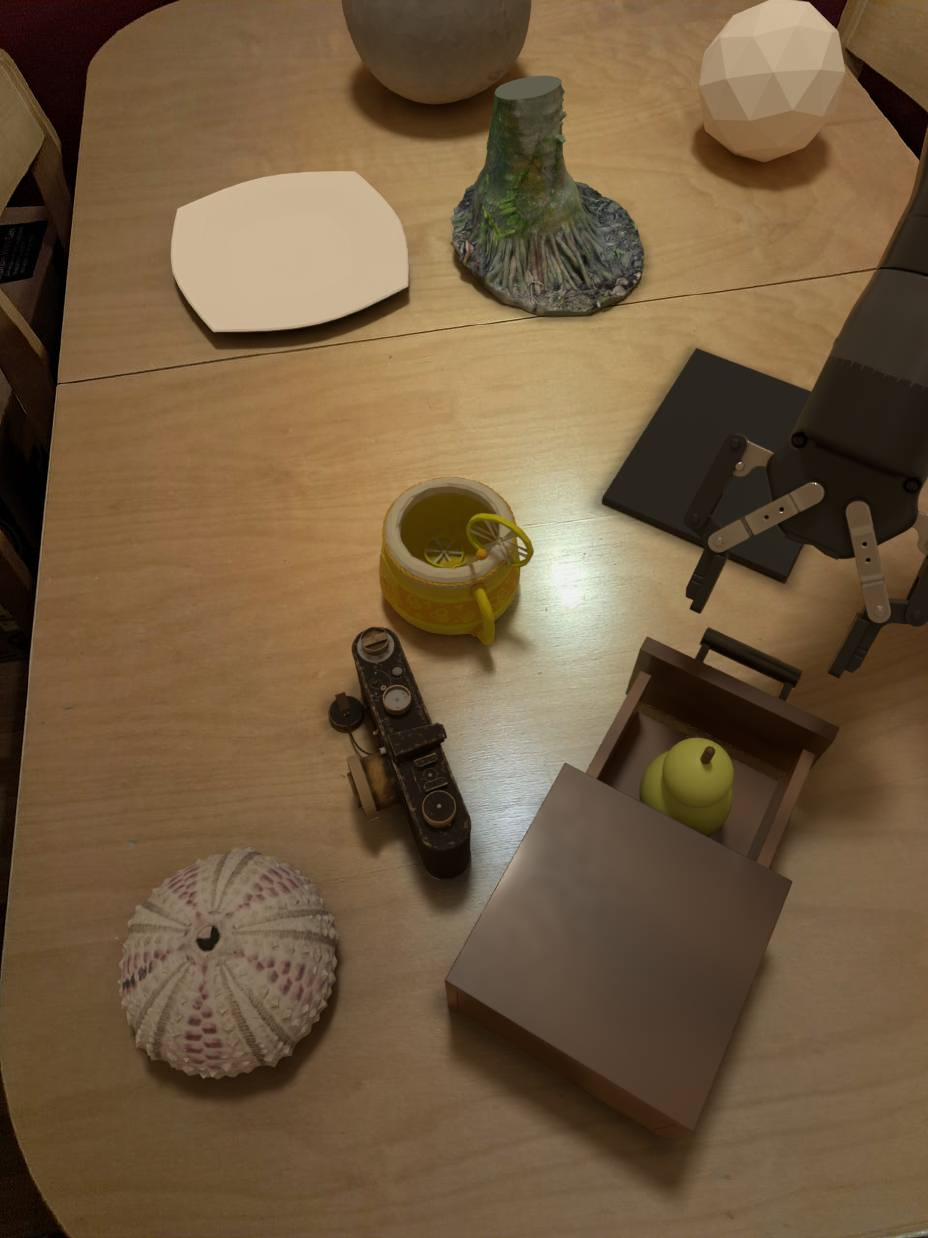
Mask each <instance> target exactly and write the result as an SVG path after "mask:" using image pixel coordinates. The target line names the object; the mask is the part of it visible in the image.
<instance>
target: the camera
mask: <svg viewBox="0 0 928 1238" xmlns="http://www.w3.org/2000/svg"><path fill="white" fill-rule="evenodd" d="M351 654H352V655H351V656H352V658H353V661H354V666H355V669H356V674H357V678H358V683H359V688H360V695H361V700H360V699H358V698H357V697H355V696H352V695H347V694H346V692H345V691H342V692H341V693H338V694H335V695H334V696H335V699H334V700H333V701H332V703H330V705H329V707H328V712H327V713H328V718H329V721H330V722H331V723H332V724H333V725H334V726H336V727H337V728H338V729H342V730H348V733H349V735H350V738H351V740H352V742H353V744H354V745H355V747H356V748H357V749H358V750H359V751H360V752H362V753H363V754H364V755H365V756H363V757H360V756H359V754H357V753H356V754H353V755H350V756H347V757H346V758H345V759H346V763H347V767H348V769H349V772H346V776H347V779H348V782H349V785H350V789H351V791H352V794H353V798H354V800H355V803H356V806H357V809H358V810H359V809H362V812H363V814H364V817H365V820H366V821H367V822H370V821H372V820H375V819H378V818H379V812H381V811H385V810H388V809H390V808H394V807H395V806H399V805H401V808H402V811H403V814H404V816H405V819H406V822H407V825H408V827H409V830H410V832H411V835H412V838H413V841H414V844H415V846H416V849H417V852H418V856H419V858H420V860H421V863H422V866H423V868H424V870H425V872H426V873H427V874H428V875H429V876H430V877H432V878H433V879H437V880H440V881H450V880H451V881H452V880H454V879H456V878H459V877H460V876H461V875H463V874H464V873H465V872H466V871H467V869H468V868H469V866H470V864H471V861H472V860H471V859H472V850H471V844H472V843H471V842H472V841H471V839H472V837H471V836H472V835H471V832H472V820H471V816H470V814H469V811H468V808H467V806H466V803H465V801H464V799H463V796H462V793H461V791H460V788H459V786H458V784H457V781H456V779H455V776H454V773H453V770H452V769H451V766H450V763H449V761H448V759H447V757H446V754H445V750H444V749H443V746H442V744H443V743H444V742H445V740H446V739H447V738H448V735H447V731H446V728H445V726H444V725H443V723H441V724H440V722H435V723H433V721H432V718H431V716H430V713H429V711H428V709H427V706H426V704H425V701H424V699H423V696H422V694H421V691H420V689H419V686H418V684H417V681H416V679H415V676H414V673H413V671H412V669H411V666H410V663H409V661H408V659H407V658H408V657H407V656H406V654H405V651H404V649H403V646H402V644H401V641H400V639H399V637H398V635H397V634H396V632H394V631H393V630H392V629H390V628H388V627H384V626H369V627H368V628H366V629H363V630H362V631H361V632H359V633H358V634H357V635H356V636H355V638H354V639H353V641H352V643H351ZM364 709H365V710H366V712H367V715H368V717H369V720H370V722H371V726H372V728H373V730H374V731H373V732H372V734H373V736H375V737H376V740H377V743H378V747H379V749H378V751H376V752H372V753H371V752H368V751H365V750H364V749H362V748H361V747H360V746H359V745H358V743H357V742H356V740H355V737H354V736H353V732H352V730H351V729H352V728H354V727H356V726H358V725H359V724H360V722H362V719H363V716H364V712H365V711H364Z"/></svg>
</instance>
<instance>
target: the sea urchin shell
mask: <svg viewBox="0 0 928 1238" xmlns="http://www.w3.org/2000/svg"><path fill="white" fill-rule="evenodd" d="M319 895H320V894H319V889H318V888H316V885H315V884H311V882H310V879H309V876H305V875H303V873H300V870H298V869H295V868H293V867H292V864H290V863H288V862H285V861H284V862H283V861H281V860H280V859H279V858H277V857H276V856H273V855H263V854H262V853H261V852H260V851H258V849H256V847H251V846H249V847H247V848H243V849H241V848H239V847H238V846H236V847H234V848H232V849H231V850H230V851H228V852H226V853H224V854H218V853H214V854H210V855H209V856H208V857H206V858H204V859H201V858H199V857H198V858H197V859H196V861H195V862H194V863H193V864H191V865H187V866H186V867H185V868H183V869H179V870H178V871H176V873H175V874H174V875H173V876H171V877H167V878H165V879H164V881H163V882H162V884H161V885H160V886H159V887H156V888H152V892H151V896H149V898H147V899H146V900H145V901H144V902H143V903H140V904H138V905H135V906H134V907H135V908H134V915H133V917H131V918H130V919H129V920H128V921H127V931H128V935H127V936H128V937H127V938H126V941H125V942H124V943H123V944H122V949H121V951H122V959H121V960H120V961H119V962H118V967H119V969H120V971H121V973H120V978H119V979H118V980H117V981H116V982H117V983H118V984H119V985H120V986H119V988H118V995H119V996H120V998H121V1002H120V1004H121V1006H120V1009H121V1010H123V1011H124V1012H125V1015H126V1016H125V1017H126V1021H127V1025H128V1026H129V1027H132V1028H133V1030H134V1033H135V1047H136V1048H138V1049H144V1050H145V1052H146V1053H147V1056H148V1057H149V1059H150V1061H164V1062H168V1063H169V1066H170V1067H171V1068H175V1070H176V1071H183V1072H184V1074H186V1075H187V1076H188V1077H189V1076H193V1075H200V1076H201V1078H202V1079H205V1078H215V1079H217V1080H218V1079H221V1078H222V1077H224V1076H228V1077H230V1078H236V1077H237V1076H238V1075H239V1074H242V1073H245V1074H250V1072H252V1071H253V1070H254V1069H255V1068H258V1067H260V1066H268V1067H273V1068H276V1067H277V1064H278V1063H279V1061H280V1060H281V1059H282V1058H283V1057H284V1058H285V1057H291V1056H292V1055H293V1051H294V1048H295V1047H296V1045H297V1044H298V1042H299V1041H301V1040H302V1038H304V1037H306V1036H307V1035H309V1034H310V1033H311V1031H312V1028H313V1024H315V1023H317V1022H319V1021H320V1014H321V1012H322V1011H323V1010H325V1008H327V1007H328V999H329V998H330V997H331V995H332V987H333V985H334V984H335V982H336V981H337V978H336V975H335V969H336V967H337V966H338V965H337V963H338V960H337V958H336V956H335V955H336V946H337V945H338V943H339V940H340V937H341V935H340V934H339V933H338V931H337V929H336V925H337V920H336V917H334V916H333V915H332V914H330V913H329V912H328V911H327V910H326V903H325V901H324V899H323V898H322V897H321V896H319Z"/></svg>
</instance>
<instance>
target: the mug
mask: <svg viewBox="0 0 928 1238" xmlns="http://www.w3.org/2000/svg"><path fill="white" fill-rule="evenodd" d="M381 531H382V532H381V538H382V544H381V550H380V554H379V569H378V572H379V573H378V574H379V576H378V577H379V585H380V590H381V594H382V595H383V597H384V600H386V602H387V603H388V604H389V605H390V606H391V607H392V609H393V610H394V611H395V612H396V613H397V614H398V615H399V616H400V617H401V618H403V619H404V620H405V621H406V622H408V623H409V624H411V626H414V627H416V628H418V629H420V630H422V631H425V632H428V633H430V634H431V633H432V634H438V635H446V636H458V635H470V636H472V637H475V638H476V637H477V638H478V639H479V641H480V642H481V643H482V644H483V645H485V646H487V645H492V644H493V643H494V641H495V635H496V628H495V621H497V620H498V619H499V618H501V616H502V615H503V614H504V613H505V612H506V610H507V609H508V608H509V607H510V606H511V604H512V602H513V600H514V598H515V597H516V595H517V592H518V588H519V585H520V578H521V568H522V567H525V566H527V565H528V564H529V563H530V562H531V560H532V557H533V556H534V551H535V550H534V547H533V544H532V543H533V542H532V541H531V539H530V538H529V537H528V535H527V534H526V532H525V531H524V530H523V529H522V528H521V527H519V525H517V522H516V518H515V516H514V512H513V511H512V508H511V506H510V505H509V503H508V502H507V500H505V498H504V497H503V496H501V495H500V493H498V492H497V491H495V490H494V489H493V488H491V487H490V486H488V485H486V484H484V483H483V482H480V481H477V480H473V479H468V478H465V477H457V476H440V477H436V478H432V479H428V480H425V481H424V480H423V481H422V482H419V483H417V484H413V485H412V486H410V487H408V488H406V490H404V491H403V492H402V493H400V495H398V497H397V498H396V499H394V501H393V502H392V503H391V504H390V506H389V507H388V509H387V511H386V513H385V515H384V519H383V522H382V529H381ZM518 538H519V540H521V541H522V543H523V545H524V547H523V546H520V545H519V543H518ZM520 550H521V551H523V552H524V553H523V552H521V551H520ZM520 557H522V558H524V559H521V558H520Z"/></svg>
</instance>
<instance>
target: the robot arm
mask: <svg viewBox="0 0 928 1238" xmlns="http://www.w3.org/2000/svg"><path fill="white" fill-rule="evenodd" d="M917 165H918V166H917V170H916V174H915V175H916V176H915V179H914V184H913V187H912V191H911V193H910V197H909V200H908V202H907V204H906V207H905V208H904V210H903V212H902V214H901V216H900V218H899V220H898V222H897V224H896V226H895V228H894V230H893V232H892V234H891V237H890V239H889V240H888V243H887V245H886V247H885V249H884V251H883V253H882V255H881V257H880V259H879V262H878V264H877V266H876V268H875V271H874V272H873V273H872V275H871V277H870V279H869V281H868V282H867V283H866V285H865V287H864V289H863V291H862V292H861V293H860V294H859V296H858V298H857V299H856V301H855V303H854V304H853V306H852V308H851V309H850V312H849V313H848V315H847V317H846V318H845V321H844V323H843V325H842V327H841V329H840V331H839V333H838V335H837V337H836V338H835V339H834V341H833V344H832V347H831V350H830V352H829V354H828V356H827V358H826V360H825V362H824V364H823V367H822V368H821V371H820V373H819V375H818V378H817V379H816V381H815V383H814V385H813V387H812V389H811V390H810V391H811V393H810V395H809V398H808V400H807V402H806V404H805V406H804V408H803V410H802V412H801V414H800V416H799V418H798V420H797V422H796V424H795V427H794V429H793V431H792V433H791V435H790V437H789V439H788V440H787V442H786V443H785V444H784V445H783V446H782V447H781V448H780V449H779V450H778V451H776V452H775V453H774V452H772V451H769V450H767V449H765V448H763V447H761V446H759V445H757V444H755V443H753V442H751V441H749V440H748V438H747V437H746V436H745V435H743V434H738V433H734V434H731V435H729V436H728V437H727V438H726V440H725V441H724V443H723V445H722V447H721V449H720V451H719V453H718V454H717V456H716V458H715V460H714V462H713V464H712V466H711V468H710V469H709V471H708V473H707V475H706V477H705V479H704V481H703V483H702V484H701V486H700V488H699V490H698V492H697V494H696V496H695V498H694V499H693V501H692V503H691V505H690V507H689V509H688V511H687V512H686V514H685V517H684V522H685V525H686V526H687V527H688V528H690V529H692V530H693V531H694V532H695V533H696V534H697V535H698V536H699V537H700V538H701V539H702V541H703V543H704V547H703V551H702V553H701V555H700V558H699V560H698V562H697V564H696V565H695V568H694V570H693V572H692V574H691V577H690V579H689V580H688V582H687V585H686V588H685V598H686V599H690V600H691V601H692V602H691V603H690V605H689V609H688V610H689V611H692V612H693V613H697V614H698V615H701V614H702V612H703V611H704V609H705V607H706V606H707V604H708V601H709V598H710V597H711V596H712V593H713V591H714V588H715V587H716V584H717V582H718V580H719V578H720V577H721V574H722V572H723V570H724V568H725V566H726V564H727V561H728V560H729V558H728V557H729V554H727V552H728V550H729V548H731V547H733V546H735V545H737V544H739V543H741V542H743V541H744V540H746V539H748V538H750V537H753V536H755V535H757V534H759V533H761V532H763V531H764V530H766V529H768V528H770V527H772V526H774V525H776V526H777V527H778V529H779V531H780V532H781V533H782V534H783V535H784V536H785V538H787V539H789V540H792V541H794V542H796V543H801V544H802V545H809V546H812V547H814V548H815V549H816V550H818V551H819V552H821V553H822V555H825V556H826V557H829V558H832V559H834V560H837V561H838V560H850V559H855V564H856V569H857V574H858V578H859V582H860V587H861V592H862V596H863V601H864V606H863V608H862V609H861V611H859V610H856V611H855V613H854V615H853V617H852V619H851V621H850V623H849V625H848V627H847V628H846V631H845V633H844V634H843V636H842V638H841V640H840V642H839V644H838V646H837V647H836V649H835V651H834V653H833V654H832V657H831V658H830V661H829V663H828V664H827V667H826V674H827V675H829V676H832V677H834V678H836V679H838V680H839V679H840V678H841V677H842V675H843V673H844V671H845V672H848V673H850V674H853V673H855V672H856V671H857V670H859V669H860V668H861V666H862V664H863V663H864V660H865V659H866V657H867V655H868V653H869V651H870V650H871V648H872V646H873V644H874V642H875V640H876V638H877V637H878V635H879V633H880V631H881V630H882V629H883V628H884V627H886V626H887V625H890V624H891V625H892V624H898V625H909V626H911V627H913V628H920V627H923V626H925V625H926V624H927V623H928V513H926V512H923V511H920V510H919V499H920V494H921V491H922V489H923V487H924V485H925V484H926V482H927V480H928V125H927V126H926V131H925V136H924V139H923V143H922V148H921V152H920V157H919V161H918V164H917ZM757 466H763V467H766V469H765V471H766V478H767V483H768V488H769V493H770V498H771V502H769V503H767V504H765V505H763V506H762V507H760V508H758V509H756V510H754V511H752V512H750V513H748V514H747V515H745V516H743V517H741V518H739V519H737V520H736V521H734V522H732V523H730V524H728V525H726V526H722V525H721V524H720V523H719V522H718V521H717V520H716V519H715V518H714V517H713V516H712V514H713V513H714V511H715V509H716V507H717V505H718V503H719V501H720V500H721V498H722V496H723V494H724V492H725V490H726V489H727V487H728V485H729V483H730V481H731V479H732V478H733V476H734V475H735V476H737V477H743V476H746V475H748V474H749V473H750V472H751V470H752V469H753V468H755V467H757ZM911 528H912V529H915V531H916V532H917V536H918V539H917V542H916V545H917V548H918V551H920V553H922V555H925V556H924V558H923V561H922V562H921V564H920V567H919V568H918V571H917V574H916V575H915V577H914V580H913V582H912V584H911V586H910V588H909V590H908V593H907V595H906V597H905V598H896V597H889V594H888V590H887V585H886V580H885V576H884V575H885V574H884V570H883V566H882V561H881V556H880V551H879V547H878V546H880V545H882V544H884V543H886V542H888V541H890V540H892V539H894V538H896V537H899V535H902V534H904V533H905V532H907V531H909V530H910V529H911Z"/></svg>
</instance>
